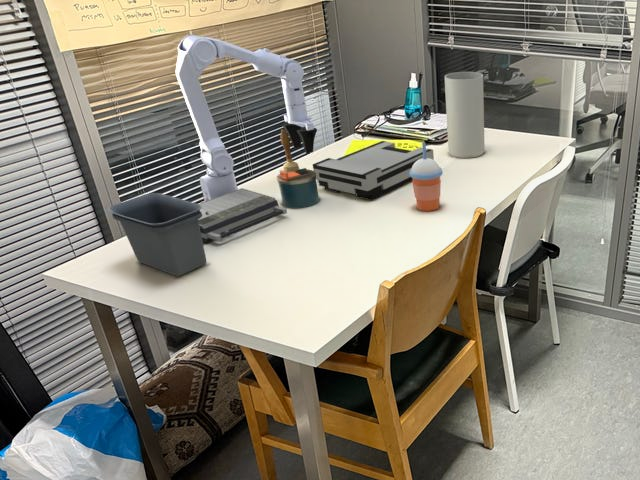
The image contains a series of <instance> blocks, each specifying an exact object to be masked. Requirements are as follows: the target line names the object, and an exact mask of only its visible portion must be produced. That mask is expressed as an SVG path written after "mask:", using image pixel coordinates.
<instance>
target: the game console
mask: <svg viewBox="0 0 640 480" xmlns="http://www.w3.org/2000/svg"><path fill="white" fill-rule="evenodd" d="M434 156H435V155H434V149H432V148H427V147H426V158H430V159H433V160H434V161H435V158H434ZM421 158H423V148H422V146H421V147H417V148H415V149H413V150H410V149H405V148H398V147H396V144H395V142H391V141H385V140H381V141H379V142H376V143H373V144H371V145H369V146H366V147H363V148H361V149H358V150H356V151H353V152H351V153H348V154H346V155H343V156H341V157H338V158H336V159H335V158H330V157H327V158H325V159H323V160H320V161H317V162H315V163H313V164H312V171H314V172H315V173H316V181H318V186H320V187H323V188H324V190H325V191H329V192H335V193H338V194H340V193H342V192H345V193H350V194H353V195H356V198H360V199H364V200H370V201H374V200H376V199H378V198H381V197H383V196H384V195H387V194H389V193H391V192H393V191H395V190H397V189H398V188H401V187H403V186H405V185H407V184H410V183H412V182H413V179H412V177H411V176H410V174H409V171H410V169H411V168H412V166H413V164H414V163H415V162H416V161H417V160H419V159H421Z"/></svg>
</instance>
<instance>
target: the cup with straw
mask: <svg viewBox="0 0 640 480" xmlns="http://www.w3.org/2000/svg"><path fill="white" fill-rule="evenodd" d="M421 148H423V158H421V159H419V160H417V161H416V162H415V163H414V164H413V166H412V168H411V169H410V171H409V174H410V176H411V177H412V179H413V181H411V183H412V189H413V194H414V198H415V202H416V207H417V209H418V210H419V211H424V212H432V211H435V210H438V209H439V208H440V197H441V188H442V187H441V186H442V185H441V183H442V180H441V177H442V175H443V168H441V166H440V165H439V163H438V162H437V161H436V160H435V159H434V160H433V159H430V158H426V148H427V145H426V142H421Z"/></svg>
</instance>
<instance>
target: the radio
mask: <svg viewBox="0 0 640 480" xmlns="http://www.w3.org/2000/svg"><path fill="white" fill-rule="evenodd" d="M198 204H199V205H201V206H202V208H201V209H200V210H199V211H201V213H202V217H201V218H200V219H198V222H199V226H200V231H201V236H202V241H203V244H204V243H205V244H209V243H211V242H213V241H214V242H220V241H222V240H223V239H225V238H227V237H229V236H232V235H235V234H236V233H239V232H242V231H244V230H247V229H249V228H251V227H254V226H256V225H259V224H261V223H264V222H267V221H268V220H271V219H274V218H276V217H278V216H280V215H286V214H288V210H287V207H282V206H280V204H279V202H278V200H277V199H276V197H274V196H270V195H267V194H263V193H260V192H257V191H253V190H249V189H246V188H243V187H242V188H238V190H236V191H233V192H230V193H227V194H225V195H222V196H219V197H216V198H213V199H211V200H208V201H205V200H204V201H203V202H200V203H198Z"/></svg>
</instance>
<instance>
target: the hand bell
mask: <svg viewBox="0 0 640 480" xmlns="http://www.w3.org/2000/svg"><path fill="white" fill-rule="evenodd" d="M280 143H281V145H282V148H283V150H284V152H285V158H286V162H285V163H284V164H283V171H285V172H286V171H290V170H296V169H300V166H299V164H298V162H296V161H294V159H293V156H292V153H291V139H290V137H289V135H288V133H287V132H286V130H285V129H284V128H282V129H280Z"/></svg>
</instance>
